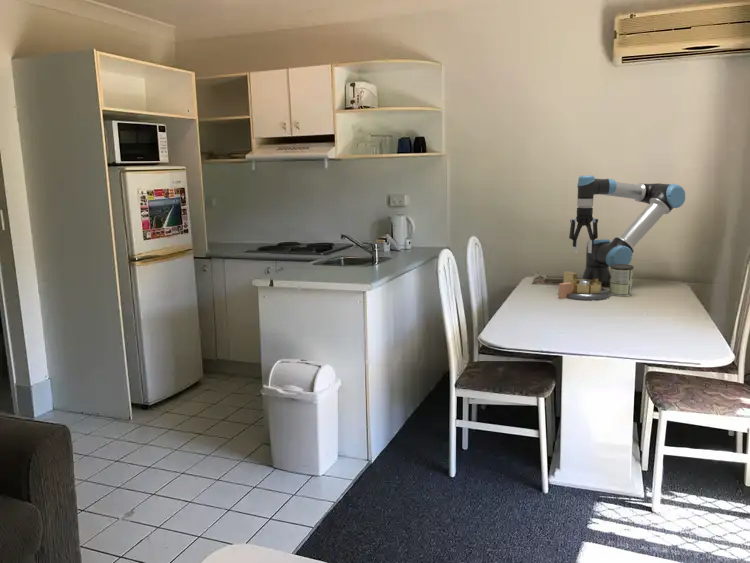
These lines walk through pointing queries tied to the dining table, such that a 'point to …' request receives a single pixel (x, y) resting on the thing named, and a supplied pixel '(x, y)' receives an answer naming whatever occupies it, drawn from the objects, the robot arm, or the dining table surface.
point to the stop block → (564, 290)
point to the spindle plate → (596, 296)
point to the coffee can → (621, 280)
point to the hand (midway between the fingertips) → (582, 252)
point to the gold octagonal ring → (580, 288)
